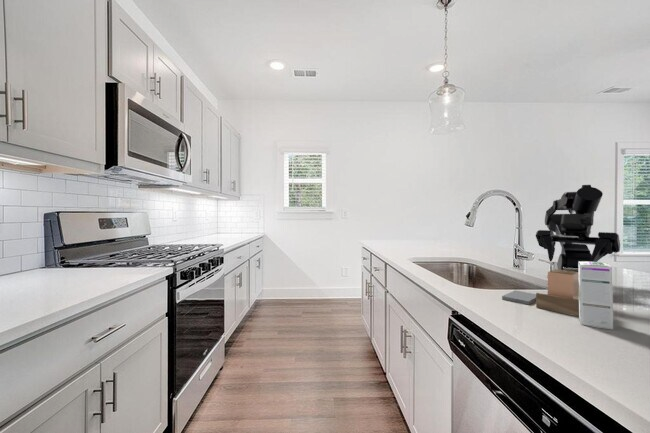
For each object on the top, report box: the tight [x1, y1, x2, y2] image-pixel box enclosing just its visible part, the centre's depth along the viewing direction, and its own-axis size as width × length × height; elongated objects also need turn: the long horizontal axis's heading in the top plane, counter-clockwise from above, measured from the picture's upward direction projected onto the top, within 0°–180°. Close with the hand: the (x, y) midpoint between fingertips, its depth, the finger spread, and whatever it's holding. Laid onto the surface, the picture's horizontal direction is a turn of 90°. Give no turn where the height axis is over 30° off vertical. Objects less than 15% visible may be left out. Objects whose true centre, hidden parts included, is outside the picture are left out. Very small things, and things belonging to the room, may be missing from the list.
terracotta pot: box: [547, 268, 579, 300], centre depth 81 cm, size 6×6×10 cm
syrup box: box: [578, 261, 614, 331], centre depth 70 cm, size 6×6×14 cm
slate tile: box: [501, 290, 536, 306], centre depth 90 cm, size 10×7×1 cm
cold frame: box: [535, 292, 579, 317], centre depth 81 cm, size 10×10×4 cm
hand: (569, 262), depth 85 cm, fingers open, 9 cm apart
